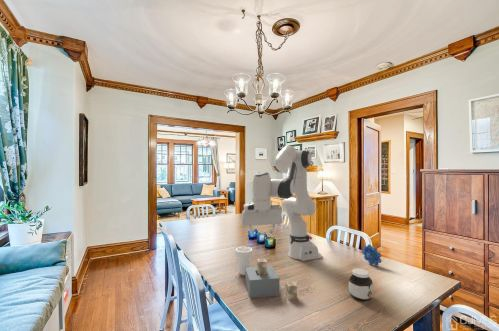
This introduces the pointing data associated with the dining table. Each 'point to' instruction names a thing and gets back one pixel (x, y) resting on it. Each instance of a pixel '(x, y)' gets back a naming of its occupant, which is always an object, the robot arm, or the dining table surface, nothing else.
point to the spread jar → (361, 285)
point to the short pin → (291, 290)
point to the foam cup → (243, 258)
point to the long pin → (261, 267)
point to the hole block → (262, 283)
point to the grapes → (371, 255)
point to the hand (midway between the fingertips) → (261, 233)
